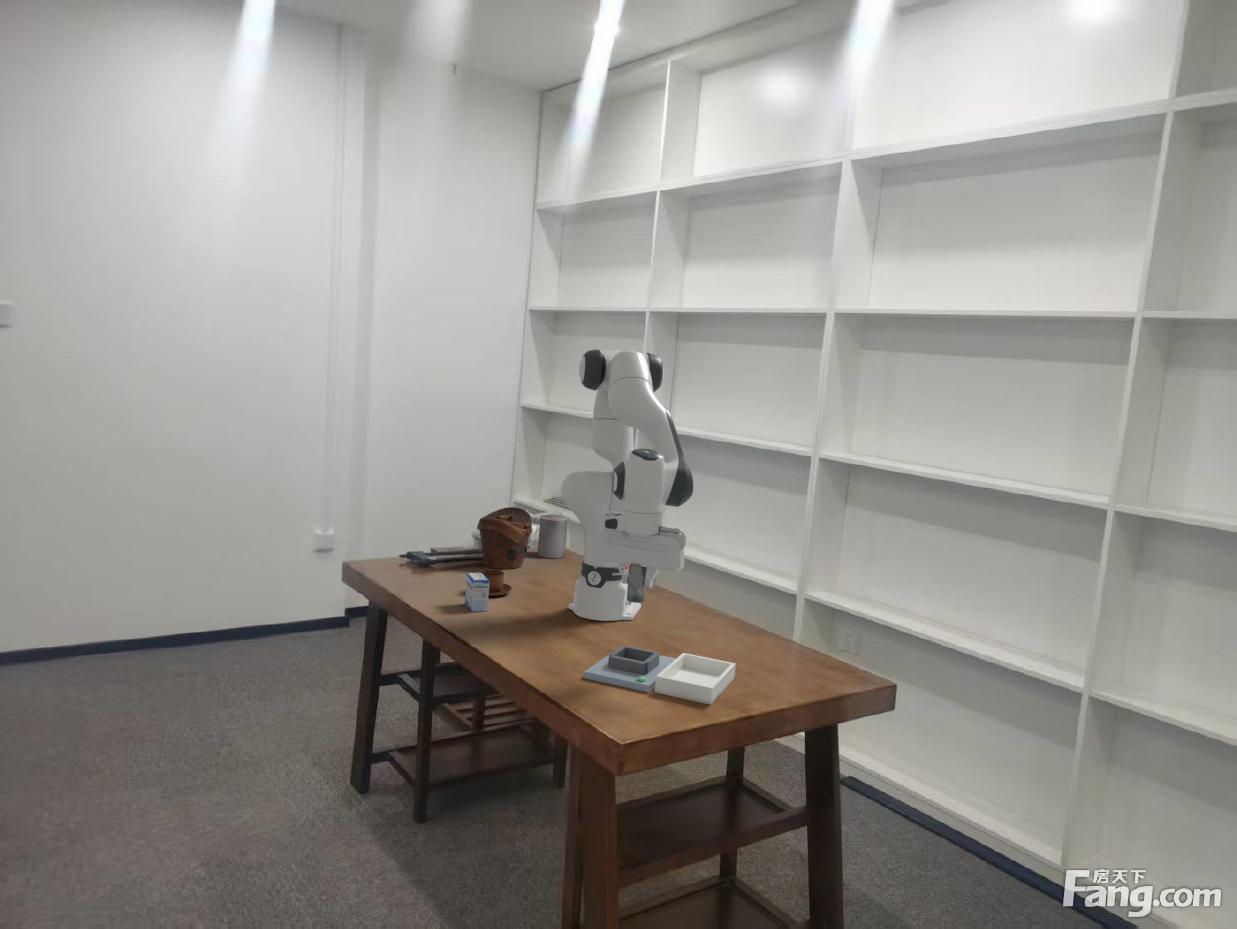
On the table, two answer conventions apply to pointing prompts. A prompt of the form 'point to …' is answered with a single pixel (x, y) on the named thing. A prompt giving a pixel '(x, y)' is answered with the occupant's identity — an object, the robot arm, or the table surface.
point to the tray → (695, 678)
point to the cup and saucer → (496, 582)
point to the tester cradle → (629, 668)
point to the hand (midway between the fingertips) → (636, 585)
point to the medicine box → (477, 592)
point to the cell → (636, 583)
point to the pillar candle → (552, 536)
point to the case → (505, 537)
